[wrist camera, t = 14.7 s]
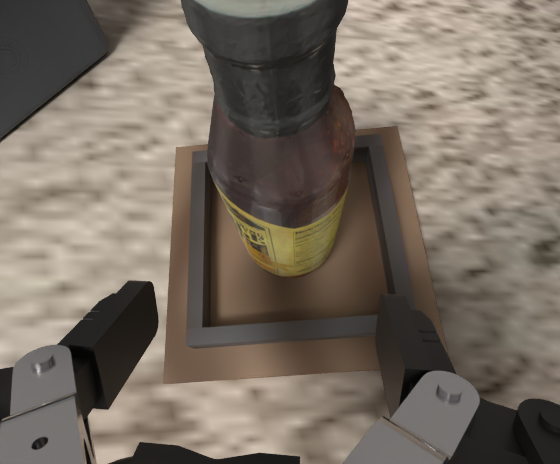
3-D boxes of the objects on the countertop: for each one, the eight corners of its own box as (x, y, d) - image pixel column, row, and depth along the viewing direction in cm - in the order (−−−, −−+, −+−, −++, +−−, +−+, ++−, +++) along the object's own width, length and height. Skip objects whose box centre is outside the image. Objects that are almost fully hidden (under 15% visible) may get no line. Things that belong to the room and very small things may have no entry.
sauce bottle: (239, 214, 28) (102, -114, 9) (319, 192, 28) (338, -171, 10) (260, 298, 25) (129, 73, 7) (348, 273, 25) (448, -9, 7)
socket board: (393, 137, 31) (402, 109, 28) (442, 365, 24) (462, 362, 21) (181, 157, 32) (167, 132, 29) (171, 383, 25) (150, 383, 22)
